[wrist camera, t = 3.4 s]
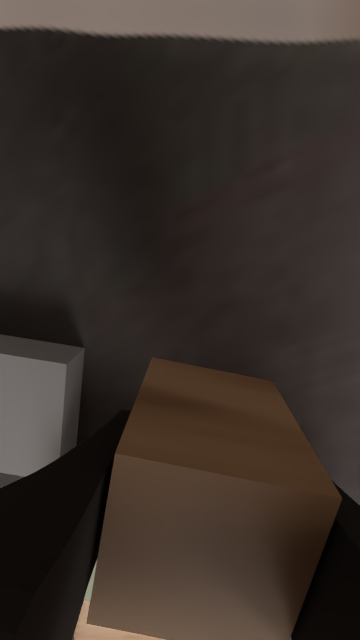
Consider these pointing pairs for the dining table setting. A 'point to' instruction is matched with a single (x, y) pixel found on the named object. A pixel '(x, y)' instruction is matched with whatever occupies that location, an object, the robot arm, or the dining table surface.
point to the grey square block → (37, 402)
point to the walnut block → (210, 511)
